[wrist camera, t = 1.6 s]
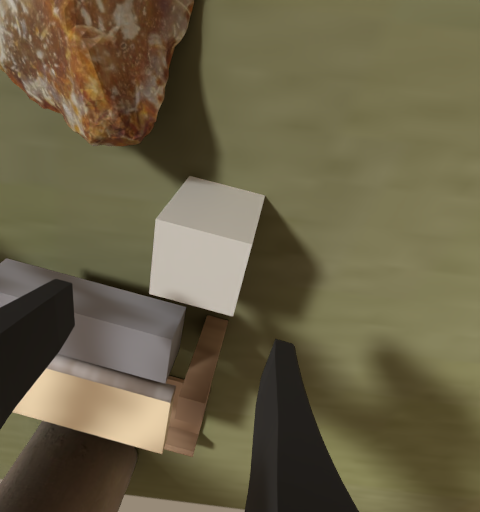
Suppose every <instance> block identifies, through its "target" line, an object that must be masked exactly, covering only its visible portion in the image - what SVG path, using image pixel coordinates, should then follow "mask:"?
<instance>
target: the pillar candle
mask: <svg viewBox="0 0 480 512" xmlns="http://www.w3.org/2000/svg"><path fill="white" fill-rule="evenodd" d="M137 457H138V456H137V451H136V449H135V448H134V446H131V445H128V444H124V443H120V442H117V441H113V440H110V439H106V438H103V437H99V436H96V435H92V434H89V433H85V432H81V431H78V430H74V429H71V428H67V427H64V426H60V425H57V424H53V423H50V422H46V421H42V422H41V424H40V425H39V427H38V428H37V430H36V432H35V433H34V434H33V436H32V437H31V439H30V440H29V442H28V443H27V445H26V446H25V448H24V449H23V450H22V452H21V453H20V455H19V456H18V458H17V459H16V461H15V463H14V464H13V466H12V467H11V468H10V470H9V471H8V473H7V474H6V476H5V477H4V479H3V480H2V482H1V483H0V512H118V510H119V507H120V505H121V502H122V499H123V496H124V494H125V492H126V490H127V488H128V485H129V483H130V479H131V476H132V473H133V471H134V468H135V465H136V462H137Z"/></svg>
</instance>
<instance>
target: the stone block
mask: <svg viewBox="0 0 480 512" xmlns="http://www.w3.org/2000/svg"><path fill="white" fill-rule="evenodd" d="M264 198H265V195H261V194H257V193H253V192H250V191H246V190H242V189H238V188H234V187H231V186H227V185H223V184H219V183H215V182H212V181H208V180H204V179H200V178H196V177H193V176H189V177H188V178H187V180H186V181H185V182H184V184H183V185H182V186H181V187H180V189H179V190H178V191H177V193H176V194H175V195H174V196H173V198H172V199H171V200H170V201H169V203H168V204H167V205H166V207H165V208H164V209H163V210H162V212H161V213H160V214H159V216H158V217H157V218H156V223H155V234H154V245H153V256H152V267H151V279H150V290H149V294H151V295H155V296H159V297H163V298H166V299H170V300H174V301H177V302H181V303H185V304H188V305H192V306H196V307H200V308H203V309H207V310H211V311H214V312H218V313H222V314H225V315H229V316H233V314H234V311H235V307H236V303H237V300H238V296H239V292H240V288H241V285H242V281H243V277H244V273H245V270H246V266H247V262H248V258H249V255H250V251H251V247H252V243H253V240H254V236H255V232H256V228H257V224H258V221H259V217H260V213H261V209H262V205H263V202H264Z"/></svg>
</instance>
